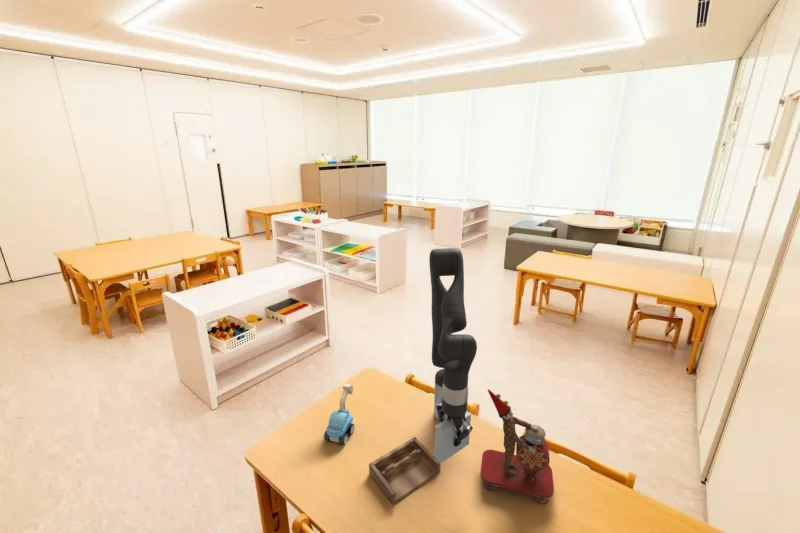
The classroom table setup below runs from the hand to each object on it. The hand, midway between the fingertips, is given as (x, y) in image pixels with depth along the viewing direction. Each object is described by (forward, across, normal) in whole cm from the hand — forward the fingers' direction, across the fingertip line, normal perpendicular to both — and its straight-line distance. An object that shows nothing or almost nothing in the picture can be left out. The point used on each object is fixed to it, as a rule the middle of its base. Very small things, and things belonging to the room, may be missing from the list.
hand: (452, 441), depth 111 cm
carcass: (+21, +14, +8) cm, 26 cm away
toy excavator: (+21, +44, +16) cm, 51 cm away
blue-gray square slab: (+4, 0, 0) cm, 4 cm away
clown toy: (+21, -11, -19) cm, 31 cm away
